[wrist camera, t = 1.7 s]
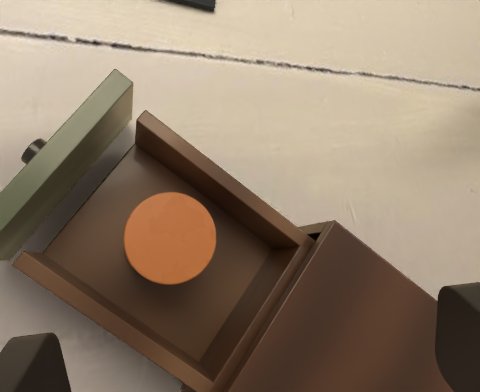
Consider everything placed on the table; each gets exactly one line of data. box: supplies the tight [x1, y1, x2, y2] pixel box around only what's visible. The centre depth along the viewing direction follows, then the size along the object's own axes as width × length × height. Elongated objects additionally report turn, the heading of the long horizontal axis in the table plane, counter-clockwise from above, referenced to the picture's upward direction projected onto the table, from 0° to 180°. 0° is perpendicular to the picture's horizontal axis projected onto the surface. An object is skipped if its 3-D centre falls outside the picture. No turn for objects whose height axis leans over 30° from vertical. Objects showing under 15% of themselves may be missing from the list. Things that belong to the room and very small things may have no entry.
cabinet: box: [181, 220, 454, 392], centre depth 26 cm, size 16×13×8 cm
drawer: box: [0, 69, 316, 392], centre depth 24 cm, size 16×11×6 cm
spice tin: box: [123, 192, 216, 285], centre depth 22 cm, size 4×4×8 cm
